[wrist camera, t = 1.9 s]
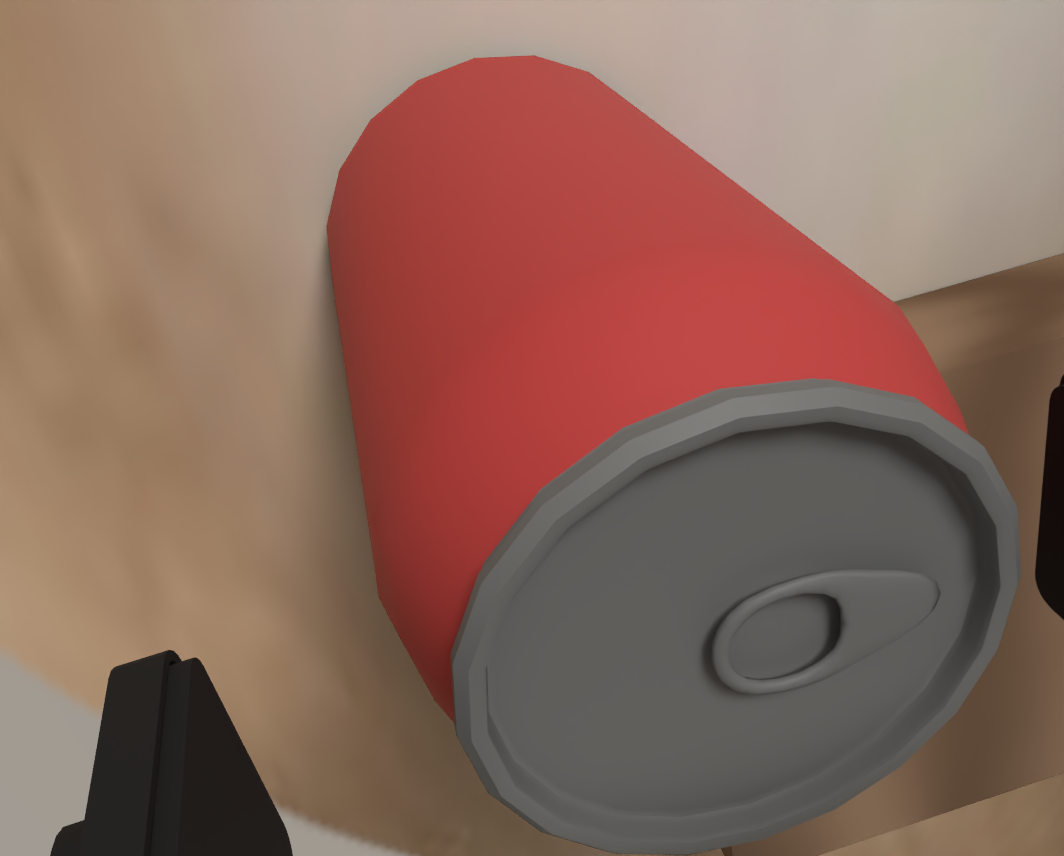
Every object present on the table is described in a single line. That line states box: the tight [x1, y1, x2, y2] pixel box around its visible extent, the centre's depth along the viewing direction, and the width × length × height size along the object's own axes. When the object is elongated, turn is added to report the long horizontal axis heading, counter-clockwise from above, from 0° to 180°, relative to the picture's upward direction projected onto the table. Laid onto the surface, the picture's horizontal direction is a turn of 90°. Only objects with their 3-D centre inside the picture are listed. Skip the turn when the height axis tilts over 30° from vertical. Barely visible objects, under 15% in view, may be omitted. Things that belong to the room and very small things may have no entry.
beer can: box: [327, 56, 1021, 855], centre depth 14 cm, size 7×7×12 cm
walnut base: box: [721, 254, 1064, 856], centre depth 25 cm, size 14×14×3 cm
